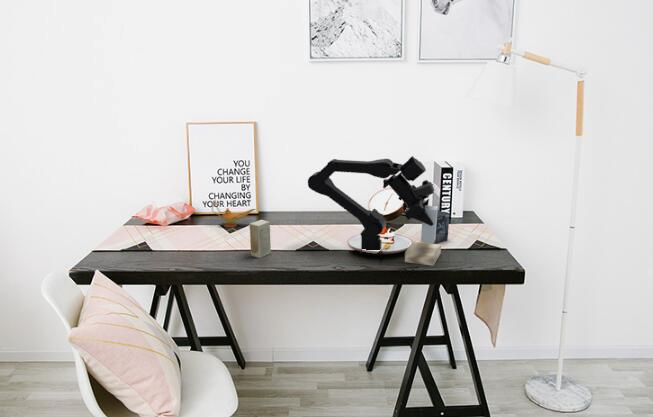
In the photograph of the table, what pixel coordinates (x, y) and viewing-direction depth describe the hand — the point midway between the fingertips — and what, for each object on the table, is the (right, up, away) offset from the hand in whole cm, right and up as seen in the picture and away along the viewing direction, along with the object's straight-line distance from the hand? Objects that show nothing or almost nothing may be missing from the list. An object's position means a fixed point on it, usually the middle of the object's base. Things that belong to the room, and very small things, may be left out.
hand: (433, 223), depth 214 cm
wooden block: (-3, -13, +5) cm, 14 cm away
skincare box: (-61, -12, +7) cm, 62 cm away
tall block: (-1, -6, +2) cm, 7 cm away
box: (+5, -7, +23) cm, 24 cm away
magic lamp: (-75, -2, +39) cm, 84 cm away
